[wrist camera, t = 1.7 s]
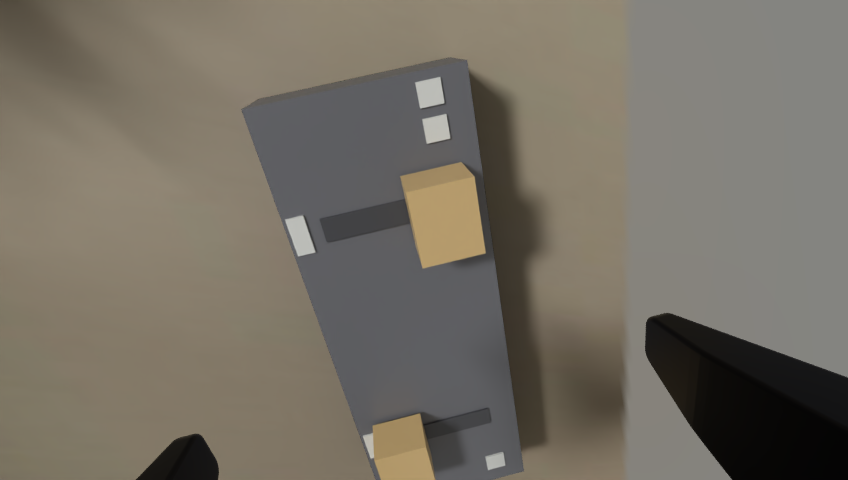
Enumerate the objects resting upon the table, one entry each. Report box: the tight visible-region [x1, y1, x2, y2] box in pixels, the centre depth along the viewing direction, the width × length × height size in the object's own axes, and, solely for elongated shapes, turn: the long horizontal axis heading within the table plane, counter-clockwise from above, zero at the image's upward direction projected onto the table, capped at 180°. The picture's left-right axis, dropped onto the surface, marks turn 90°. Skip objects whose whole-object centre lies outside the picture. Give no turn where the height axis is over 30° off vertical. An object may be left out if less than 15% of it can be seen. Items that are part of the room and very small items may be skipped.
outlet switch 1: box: [373, 413, 436, 480], centre depth 21 cm, size 3×2×2 cm
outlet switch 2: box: [400, 162, 486, 268], centre depth 16 cm, size 3×2×2 cm
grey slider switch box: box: [241, 58, 524, 480], centre depth 21 cm, size 22×8×3 cm, turn 11°
